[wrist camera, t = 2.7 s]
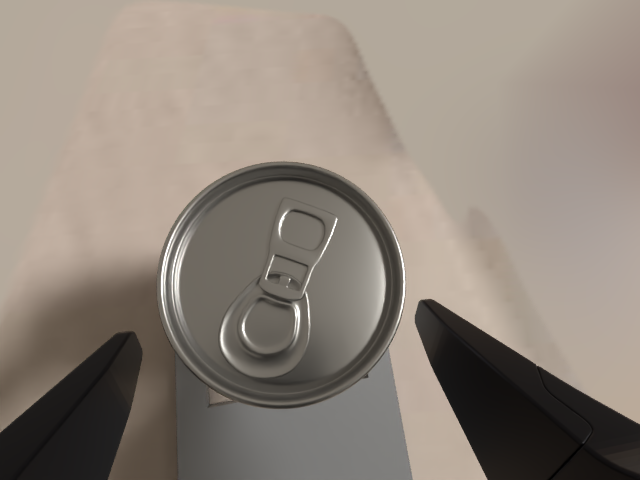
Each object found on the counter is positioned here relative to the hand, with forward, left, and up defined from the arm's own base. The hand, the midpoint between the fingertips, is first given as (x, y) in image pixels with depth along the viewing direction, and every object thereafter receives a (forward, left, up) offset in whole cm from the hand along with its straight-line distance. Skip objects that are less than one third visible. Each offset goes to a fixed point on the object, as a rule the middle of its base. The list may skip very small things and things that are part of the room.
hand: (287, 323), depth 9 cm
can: (+1, 0, -9) cm, 9 cm away
